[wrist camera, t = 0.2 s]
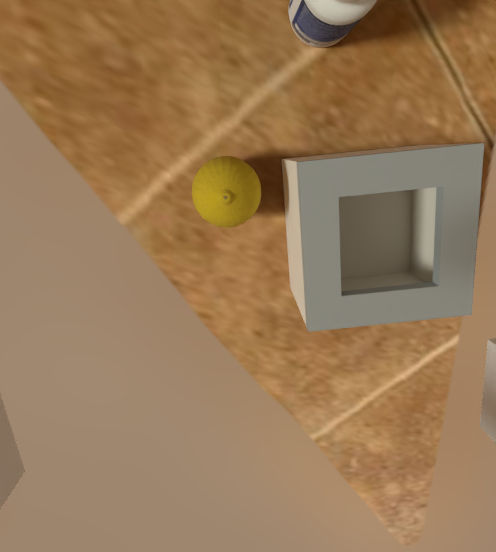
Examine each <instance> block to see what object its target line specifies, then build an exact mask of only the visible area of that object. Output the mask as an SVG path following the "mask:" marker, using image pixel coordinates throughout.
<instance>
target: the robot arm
mask: <svg viewBox="0 0 496 552" xmlns="http://www.w3.org/2000/svg"><path fill="white" fill-rule="evenodd" d="M480 426H481V428H482V429H483V430H484V431H485V432H486V433H487V434H488V435H489V436H490V438H491V439H492V440H493V441H494V442H495V443H496V338H495V339H488V346H487V356H486V367H485V378H484V388H483V399H482V410H481V420H480ZM24 472H25V470H24V467H23V463H22V460H21V457H20V454H19V451H18V448H17V445H16V442H15V439H14V435H13V432H12V429H11V426H10V423H9V420H8V417H7V414H6V410H5V407H4V404H3V401H2V398H1V395H0V509H1V507H2V506H3V504H4V502H5V501H6V499H7V498H8V496H9V495H10V493H11V492H12V490H13V489H14V487H15V486H16V484H17V483H18V481H19V480H20V478H21V477H22V475H23V473H24Z"/></svg>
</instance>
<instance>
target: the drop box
mask: <svg viewBox="0 0 496 552" xmlns="http://www.w3.org/2000/svg"><path fill="white" fill-rule="evenodd" d="M483 154H484V143H469V144H438V145H414V146H404V147H394V148H384V149H375V150H365V151H355V152H345V153H336V154H326V155H316V156H306V157H297V158H287V159H281V160H282V174H283V189H284V203H285V217H286V232H287V246H288V260H289V275H290V288H291V290H292V293H293V295H294V297H295V300H296V302H297V305H298V307H299V310H300V312H301V315H302V317H303V319H304V322H305V324H306V327H307V329H308V332H310V331H320V330H329V329H339V328H349V327H358V326H368V325H378V324H388V323H397V322H407V321H417V320H426V319H436V318H446V317H456V316H465V315H471V314H472V301H473V288H474V274H475V261H476V248H477V235H478V221H479V208H480V194H481V181H482V168H483Z"/></svg>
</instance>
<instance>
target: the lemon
mask: <svg viewBox="0 0 496 552" xmlns="http://www.w3.org/2000/svg"><path fill="white" fill-rule="evenodd" d="M192 198H193V202H194V205H195V207H196V209H197V211H198V213H199V214H200V215H201V216H202V217H203V218H204V219H205V220H206V221H208V222H209V223H211V224H213V225H216V226H218V227H226V228H228V227H235V226H238V225H240V224H243V223H245V222H246V221H247V220H249V219H250V218H251V217H252V216H253V214H254V213H255V212H256V210H257V208H258V206H259V204H260V199H261V185H260V181H259V178H258V176H257V174H256V173H255V171H254V169H253V168H252V167H250V166H249V165H248V164H247V163H246V162H244V161H242V160H241V159H238V158H235V157H231V156H222V157H218V158H214V159H212V160H210V161H208V162H207V163H205V164H204V165H203V166H202V167H201V168H200V169H199V171H198V172H197V174H196V176H195V178H194V181H193V184H192Z"/></svg>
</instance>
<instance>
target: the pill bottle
mask: <svg viewBox="0 0 496 552" xmlns="http://www.w3.org/2000/svg"><path fill="white" fill-rule="evenodd" d="M376 1H377V0H290V2H289V19H290V23H291V26H292V28H293V31H294V32H295V34H296V36H297V37H298V38H299V39H300V40H301V41H302V42H304V43H305V44H307V45H310V46H312V47H318V48H322V47H329V46H331V45H334V44H336V43H337V42H339V41H340V40H341V39H343V38H344V37H345V36H346V35H347V34H348V33H349V32H350V31H351V29H352V28H353V27H354V26H355V25H356V24H357V23H358V22H359V21H360V20H361V19H362V18H363V17H364V16H365V15H366V14H367V13H368V12H369V11H370V10H371V8H372V7H373V6H374V4H375V3H376Z"/></svg>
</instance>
